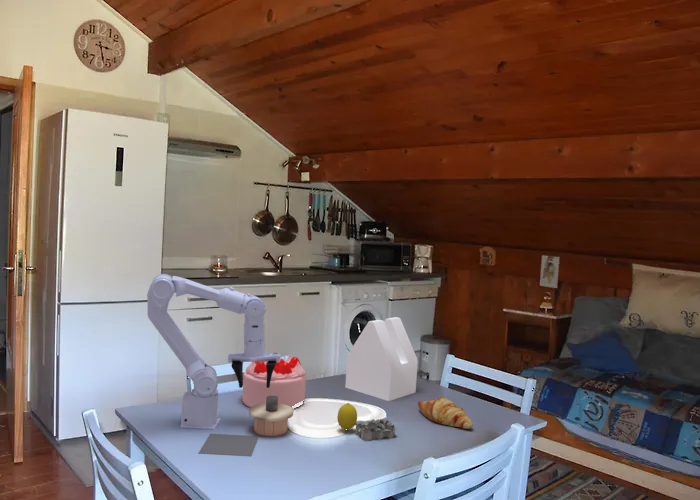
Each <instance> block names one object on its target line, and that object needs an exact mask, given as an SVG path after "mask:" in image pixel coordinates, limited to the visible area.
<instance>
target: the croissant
mask: <svg viewBox="0 0 700 500" xmlns="http://www.w3.org/2000/svg"><path fill="white" fill-rule="evenodd" d="M417 407H418V408H419V410H420V412H421V413H422V415H423V416H424V417H426V418H427V419H428V420H430V421H432V422H434V423H437V424H440V425H442V426H450V427H456V428H461V429H465V430H467V429H472V428H473V427H474V425H473V422H472V419H471V418H470V417H469V416H468V415H467V413H466V412H465V411H464V408H462V407H458V406H457V404H455V403H454V402H453V400H450V399H448V398H444V397H441V396H440V397H439V398H436V399H432V400H430V401H429V400H424V401H421V400H420V401H417Z"/></svg>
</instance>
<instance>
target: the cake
mask: <svg viewBox="0 0 700 500" xmlns="http://www.w3.org/2000/svg"><path fill="white" fill-rule="evenodd" d="M272 354H279V353H278V352H274V353H272ZM267 363H268V362H250V364H248V366H247V367H246V369H245V370H244V372H243V386H242V396H241V397H242V403H243V404H244V405H245V406H247V407H248V408H251V407H252V406H254V405H257V404H262V403H266V397H267V396H277V397H278V403H279V404H285V405H288V406H290V407H292V406H294V405H295V404H297V403H299V402H301V401H303V400H304V401H305V400H306V399H305V398H306V397H305V396H306V382H307V381H306V378H307V377H306V375H307V373H306V371H305V369H304V368H303V367H302V364H301V362H300V359H299V357H297V356H293V357H292V356H291V354H290V353H289V354H288V357H287V359H283V358H282V357H280V362H277V363H276V365H275V367H274V370H273V373H272V376H271V381H270V387H269V388H267V385H266V384H267V368H266V364H267Z"/></svg>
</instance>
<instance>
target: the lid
mask: <svg viewBox="0 0 700 500" xmlns="http://www.w3.org/2000/svg"><path fill="white" fill-rule="evenodd" d="M248 412H249V416H250V417H251V418H253V419H254V418H255V419H258V420H263V421H282V420H286V419H288V420H289V419H291V418H292V417H293V416H294V409H293V408H292V407H290V406H288V405H285V404H279V403H278V397H277V396H267V397H266V403H262V404H257V405H254V406H252V407H249V411H248Z"/></svg>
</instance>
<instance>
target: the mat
mask: <svg viewBox="0 0 700 500" xmlns="http://www.w3.org/2000/svg"><path fill="white" fill-rule="evenodd" d="M258 440H259V435H245V434H244V435H243V434H242V435H241V434H226V433H225V434H223V433H209V435H208V437H206V440H205V442H204V443H203V445H202V446H201V447H200V450H199V451H198V453H197V454H199V455H217V456H218V455H219V456H236V457H237V456H238V457H252V455H253V453H254V451H255V448H256V445H257V443H258Z"/></svg>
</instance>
